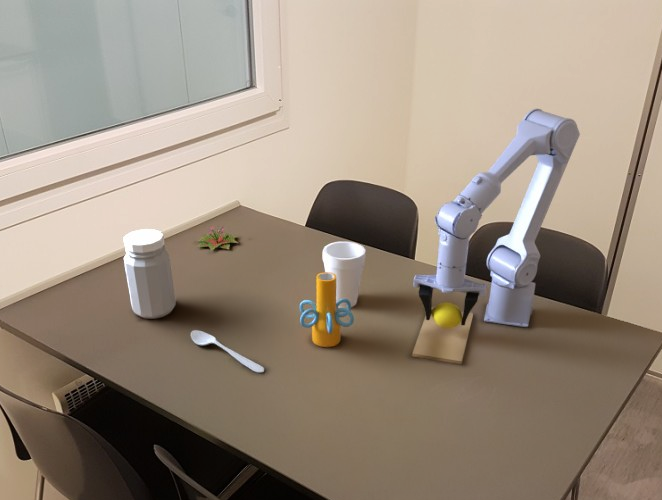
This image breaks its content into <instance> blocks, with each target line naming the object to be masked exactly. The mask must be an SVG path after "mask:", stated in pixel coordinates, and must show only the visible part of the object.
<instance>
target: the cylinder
mask: <svg viewBox="0 0 662 500" xmlns="http://www.w3.org/2000/svg"><path fill="white" fill-rule="evenodd" d="M315 277H316V278H315V279H316V282H315V283H316V286H315V287H316V289H315V291H316V302H314V301H313V300H310V299H304V300H302V301H301V302H300V304H299V311H300V313H301V315H300V318H299V322H300V325H301V327H303V328H305V329H309V328H311V340H312V342H313V344H314V345H316V346H318V347H321V348H331V347H335V346H337V345H338V344H339V343H340V342H341V336H342V335H341V330H342V327H344V328H347V327H350V326H352V325H353V324H354V321H355V317H354V314H353V312H352V311H351V309H352V307H351V303H350V301H349V300H348V299H341V300H339V301H338V302H337V303H336V275H335V274H334V273H330V272H325V271H322V272H320V273H318V274H316V276H315ZM343 302H346V303H347V308H338V306H339V305H340V304H341V303H343ZM305 305H310V306H312V308H307V309H306V310H305V309H304V306H305ZM310 313H313V314H310ZM347 315H348V316H349V321H348V322H344V321H342V320H341V319H340V318H344V317H346V316H347ZM305 318H307V319H313V320H312V321H311V322H309V323H306V322H305Z"/></svg>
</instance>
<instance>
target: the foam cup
mask: <svg viewBox="0 0 662 500" xmlns="http://www.w3.org/2000/svg"><path fill="white" fill-rule="evenodd" d="M366 251H367V250H366V248H365V247H364V246H363V245H361V244H360V243H357V242H353V241H334V242H331V243H328V244H327V245H325V246H323V249H322V261H323V265H324V272H330V273H334V274H335V275H336V303H337V302H338V301H339V300H341V299H348V300H349V301H350V303H351V308H353V307H355V306H356V305H357V303H358V299H359V292H360V288H361V287H360V286H361V281H362V276H363V269H364V265H365V262H366V253H367V252H366ZM339 308H346V309H347V303H346V302H343V303H341V304H340V305H339V306H338V308H337V309H339Z"/></svg>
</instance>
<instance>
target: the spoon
mask: <svg viewBox="0 0 662 500" xmlns="http://www.w3.org/2000/svg"><path fill="white" fill-rule="evenodd" d="M190 338H191V340H192V341H193V343H194V344H196V345H199V346H207V345H210V344H213V345H216V346H218V347H219V348H221V349H222V350H224V351H225V352H227V354H229V355H230V356H231V357H232V358H234V359H235V360H236V361H237V362H238V363H240V364H242V365H243V366H245V367H246V368H248V369H249V370H251V371H252V372H254V373H257V374H262V373H264V372H265V368H264V367H263V366H262V365H260V364H258V363H256V362H254V361H253V360H250V359H249V358H247V357H245V356H243V355H241V354H240V353H238V352H236V351H234V350H232V349H230V348H229V347H227V346H226V345H223V344H221V343H220V342H219V341H218V340H217V339H216V337H215V336H214V335H212V334H209V333H207V332H205V331H202V330H198V329H196V330H192V331H191V332H190Z"/></svg>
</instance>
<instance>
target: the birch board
mask: <svg viewBox="0 0 662 500" xmlns="http://www.w3.org/2000/svg"><path fill="white" fill-rule="evenodd" d="M434 307H435V306H432V309H433V308H434ZM432 309H431V310H432ZM463 313H464V310H463V311H462V310H461V314H462V318H463ZM473 318H474V312H470V313H469V314H468V317H467V319H466V322H465V325H461V322H462V321H461V322H460V323H459V324H458V325H457V326H456V327H453V328H443V327H440V326H439V325H438V324H437V323H436V322H435V321H434V319H433V317H432V314H431V317H430V320H426V315H425V316H424V319H423V322H422V325H421V328H420V329H419V333H418V336H417V339H416V342H415V345H414V347H413V350H412V353H411V354H412V355H411V356H412V357H413V358H418V359H426V360H430V361H431V360H432V361H438V362H443V363H450V364H456V365H463V360H464V356H465V352H466V347H467V344H468V339H469V334H470V331H471V327H472V324H473V323H472V322H473Z"/></svg>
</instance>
